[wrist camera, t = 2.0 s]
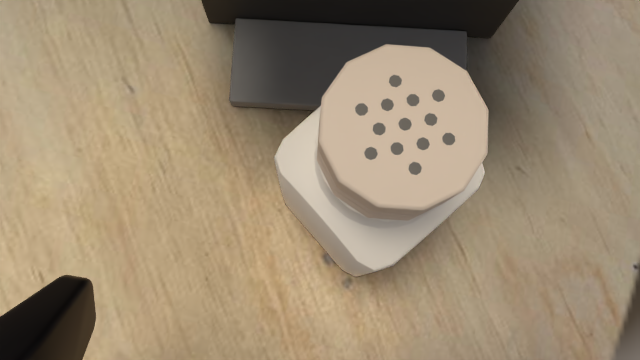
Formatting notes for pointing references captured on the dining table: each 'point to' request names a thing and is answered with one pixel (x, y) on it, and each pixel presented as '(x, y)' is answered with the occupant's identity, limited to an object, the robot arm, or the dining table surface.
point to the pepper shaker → (385, 155)
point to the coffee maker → (337, 40)
